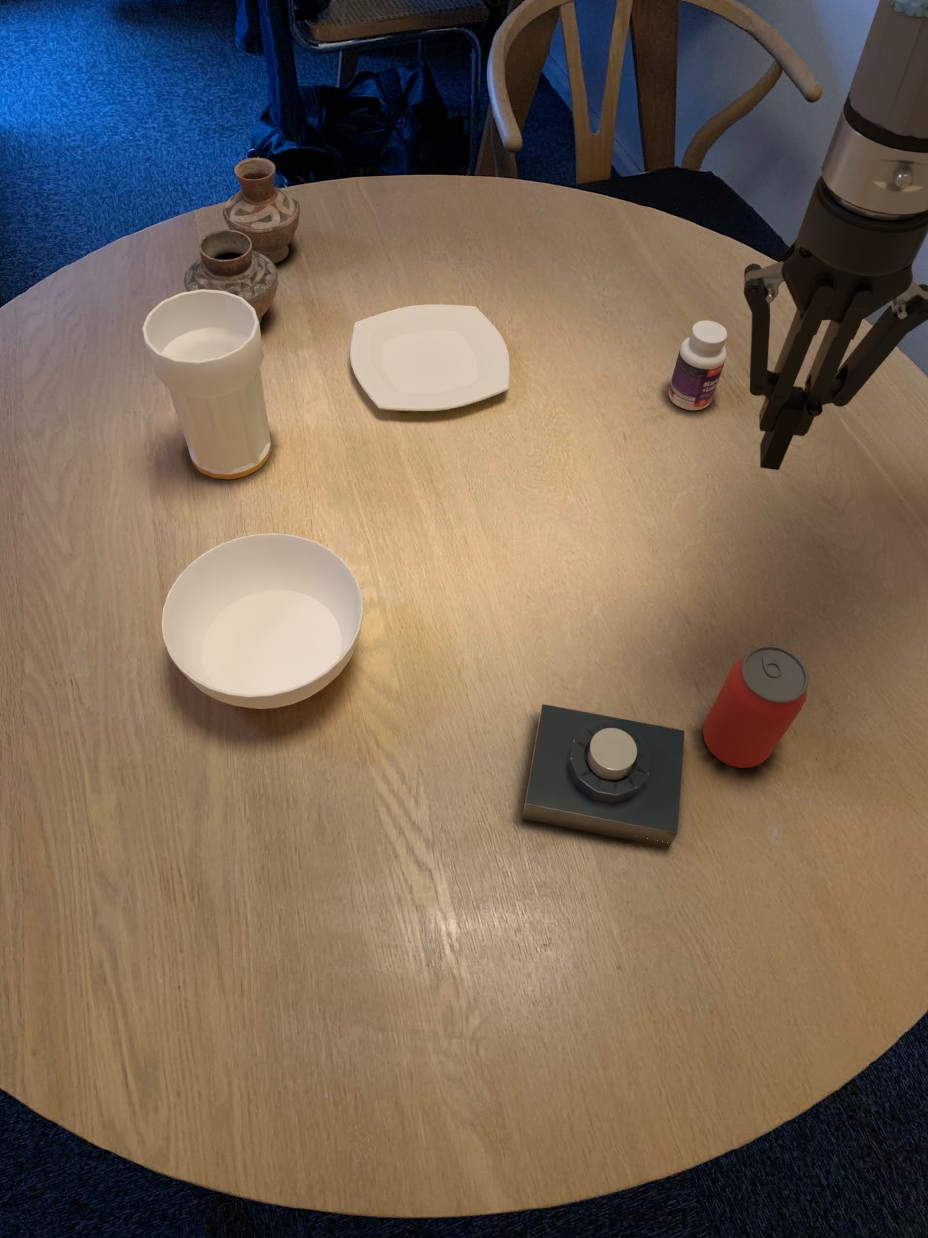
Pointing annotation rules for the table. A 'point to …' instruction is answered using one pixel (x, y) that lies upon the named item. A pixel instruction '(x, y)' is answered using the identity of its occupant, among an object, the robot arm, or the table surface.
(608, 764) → the beige button cap
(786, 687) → the beer can
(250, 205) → the pottery
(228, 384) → the cup
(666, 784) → the beige button cap base
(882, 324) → the robot arm
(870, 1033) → the table surface
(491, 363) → the plate
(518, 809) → the table surface
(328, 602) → the bowl
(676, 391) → the pill bottle
